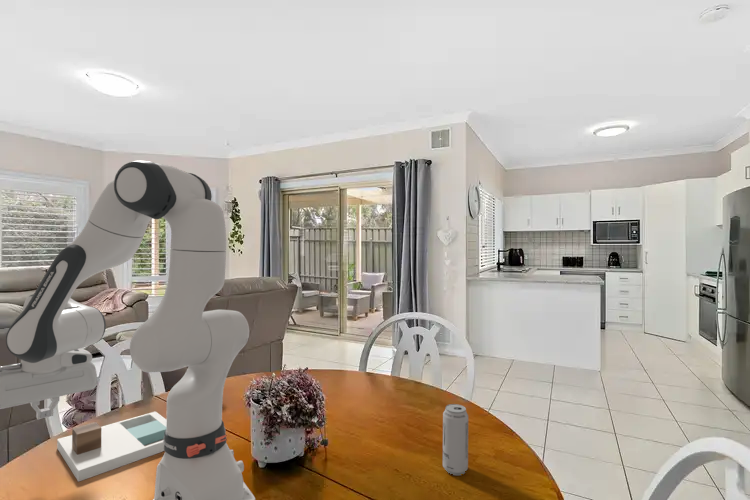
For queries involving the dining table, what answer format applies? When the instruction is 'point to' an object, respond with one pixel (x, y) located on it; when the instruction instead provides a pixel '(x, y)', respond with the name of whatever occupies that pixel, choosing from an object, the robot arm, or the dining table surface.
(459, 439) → the energy drink can
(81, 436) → the walnut block
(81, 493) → the dining table surface
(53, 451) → the dining table surface
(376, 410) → the dining table surface
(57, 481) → the dining table surface
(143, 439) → the board
